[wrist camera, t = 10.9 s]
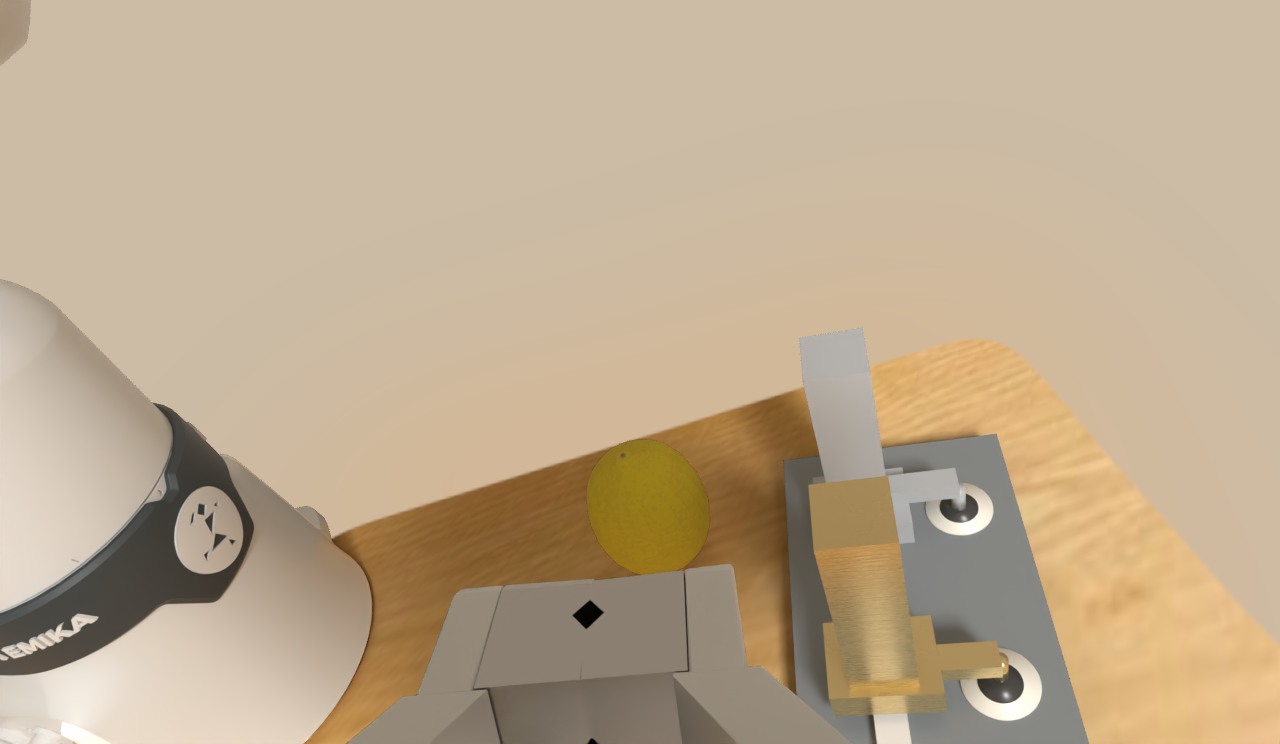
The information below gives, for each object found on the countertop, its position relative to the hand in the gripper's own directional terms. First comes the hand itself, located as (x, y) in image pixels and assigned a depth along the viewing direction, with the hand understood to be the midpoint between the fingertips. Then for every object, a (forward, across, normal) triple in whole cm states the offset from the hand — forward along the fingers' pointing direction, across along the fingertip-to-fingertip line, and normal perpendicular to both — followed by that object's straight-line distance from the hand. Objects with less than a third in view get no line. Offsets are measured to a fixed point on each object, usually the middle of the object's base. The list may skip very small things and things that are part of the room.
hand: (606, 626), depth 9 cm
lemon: (+28, +1, +18) cm, 33 cm away
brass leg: (+18, -8, +18) cm, 26 cm away
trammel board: (+20, -9, +19) cm, 29 cm away
